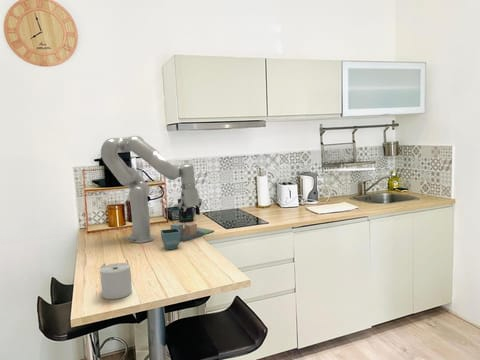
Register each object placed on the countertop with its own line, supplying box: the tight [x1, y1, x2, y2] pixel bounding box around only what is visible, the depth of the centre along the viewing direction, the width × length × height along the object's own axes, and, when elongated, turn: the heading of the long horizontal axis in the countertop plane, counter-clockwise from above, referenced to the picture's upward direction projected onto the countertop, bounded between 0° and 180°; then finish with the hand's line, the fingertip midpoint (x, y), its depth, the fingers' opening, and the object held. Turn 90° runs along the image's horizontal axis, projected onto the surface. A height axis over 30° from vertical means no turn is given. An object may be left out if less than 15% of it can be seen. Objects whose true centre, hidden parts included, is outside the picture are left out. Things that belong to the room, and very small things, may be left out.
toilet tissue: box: [99, 262, 133, 300], centre depth 143 cm, size 11×12×10 cm
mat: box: [197, 226, 215, 236], centre depth 230 cm, size 8×14×1 cm, turn 48°
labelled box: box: [183, 222, 198, 236], centre depth 219 cm, size 5×5×7 cm
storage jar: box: [177, 198, 194, 224], centre depth 259 cm, size 10×10×15 cm
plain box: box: [170, 222, 184, 236], centre depth 220 cm, size 5×5×6 cm
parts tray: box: [180, 227, 204, 243], centre depth 220 cm, size 14×16×2 cm
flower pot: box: [160, 228, 181, 250], centre depth 199 cm, size 9×9×9 cm
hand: (191, 216), depth 218 cm, fingers open, 9 cm apart
